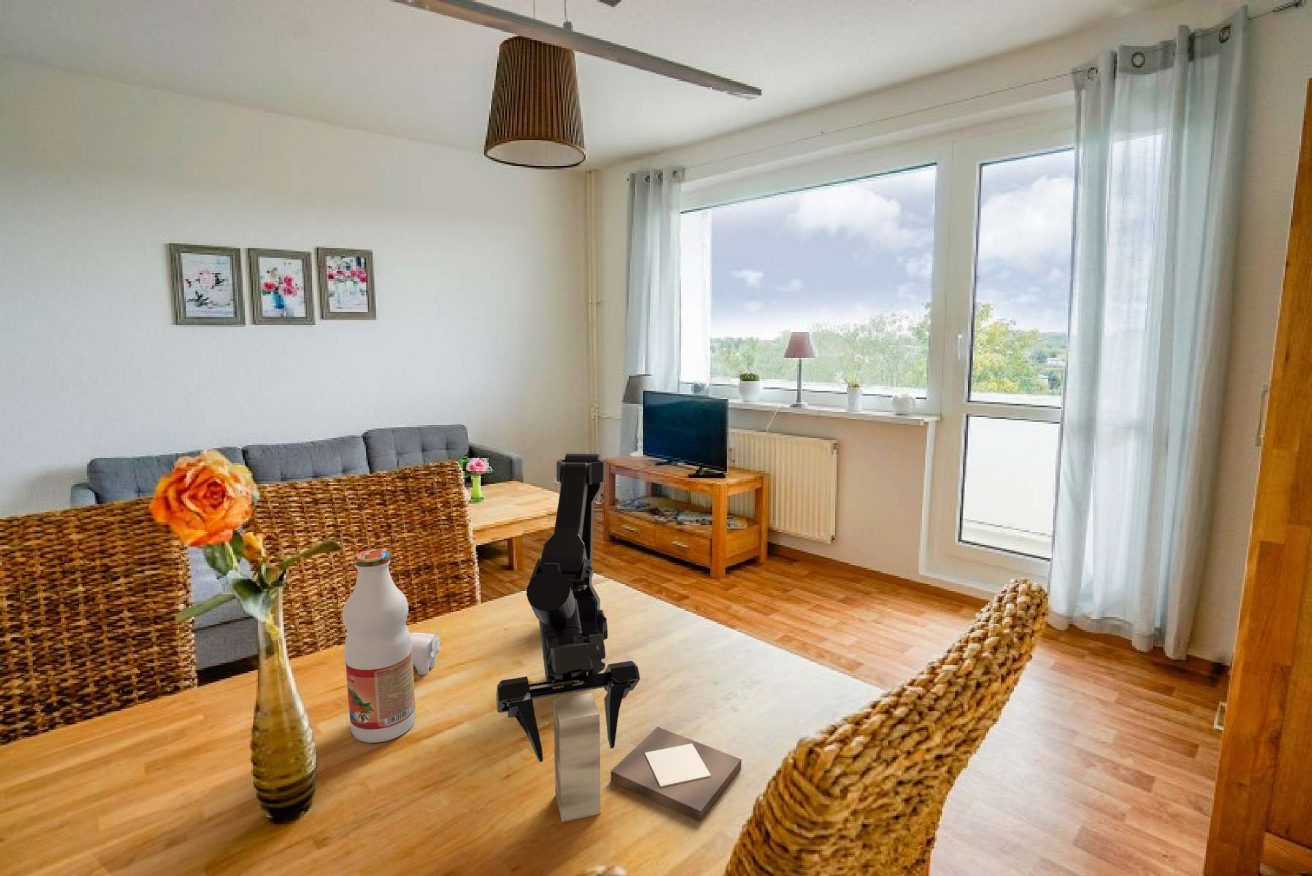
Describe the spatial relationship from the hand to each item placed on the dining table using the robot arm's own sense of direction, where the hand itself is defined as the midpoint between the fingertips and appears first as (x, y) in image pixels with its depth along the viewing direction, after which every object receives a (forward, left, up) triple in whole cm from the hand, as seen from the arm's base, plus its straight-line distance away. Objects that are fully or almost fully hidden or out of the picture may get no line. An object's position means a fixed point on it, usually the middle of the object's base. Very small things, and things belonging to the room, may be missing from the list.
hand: (577, 754), depth 85 cm
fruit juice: (-36, -2, -8) cm, 37 cm away
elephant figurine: (-47, +13, -8) cm, 49 cm away
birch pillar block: (0, +1, -8) cm, 8 cm away
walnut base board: (+8, +13, -8) cm, 16 cm away
